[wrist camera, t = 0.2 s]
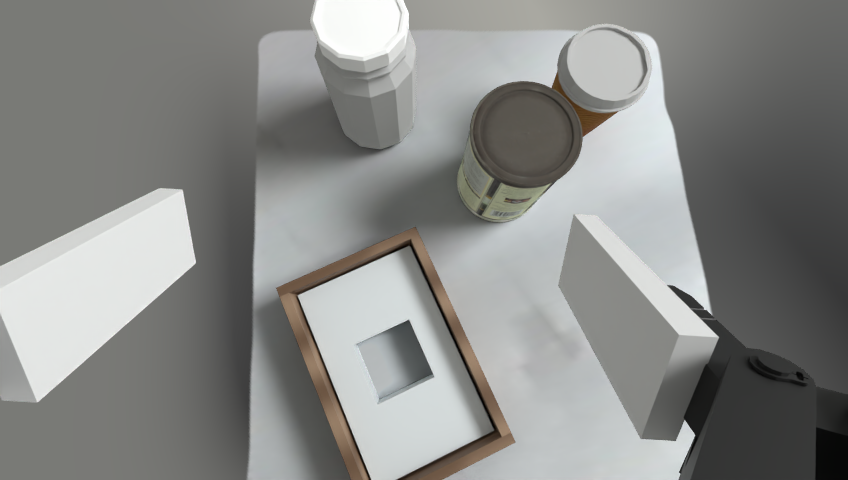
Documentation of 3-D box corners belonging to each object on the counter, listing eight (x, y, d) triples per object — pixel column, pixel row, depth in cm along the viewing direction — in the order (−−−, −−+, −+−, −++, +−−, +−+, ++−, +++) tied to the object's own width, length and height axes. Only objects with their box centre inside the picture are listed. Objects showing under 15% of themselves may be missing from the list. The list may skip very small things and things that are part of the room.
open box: (504, 429, 47) (515, 442, 42) (371, 496, 45) (366, 518, 40) (415, 235, 50) (415, 226, 46) (290, 291, 49) (276, 288, 44)
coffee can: (512, 130, 53) (546, 63, 40) (554, 199, 52) (604, 155, 38) (440, 165, 52) (450, 108, 38) (481, 237, 51) (505, 205, 37)
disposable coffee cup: (586, 165, 53) (636, 121, 41) (517, 133, 53) (547, 79, 42) (614, 103, 54) (670, 43, 43) (547, 72, 55) (583, 5, 43)
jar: (412, 78, 54) (410, -39, 37) (420, 149, 53) (422, 62, 35) (336, 85, 54) (298, -30, 36) (342, 156, 52) (304, 72, 35)
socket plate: (489, 423, 47) (494, 430, 44) (378, 479, 45) (375, 490, 42) (409, 250, 50) (409, 245, 47) (304, 297, 49) (297, 295, 46)
